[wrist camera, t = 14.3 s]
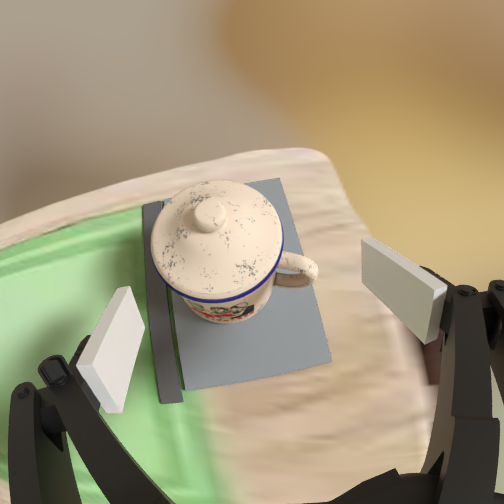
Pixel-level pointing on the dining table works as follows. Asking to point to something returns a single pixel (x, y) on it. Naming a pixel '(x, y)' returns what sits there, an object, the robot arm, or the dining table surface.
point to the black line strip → (160, 317)
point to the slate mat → (254, 326)
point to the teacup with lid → (224, 251)
